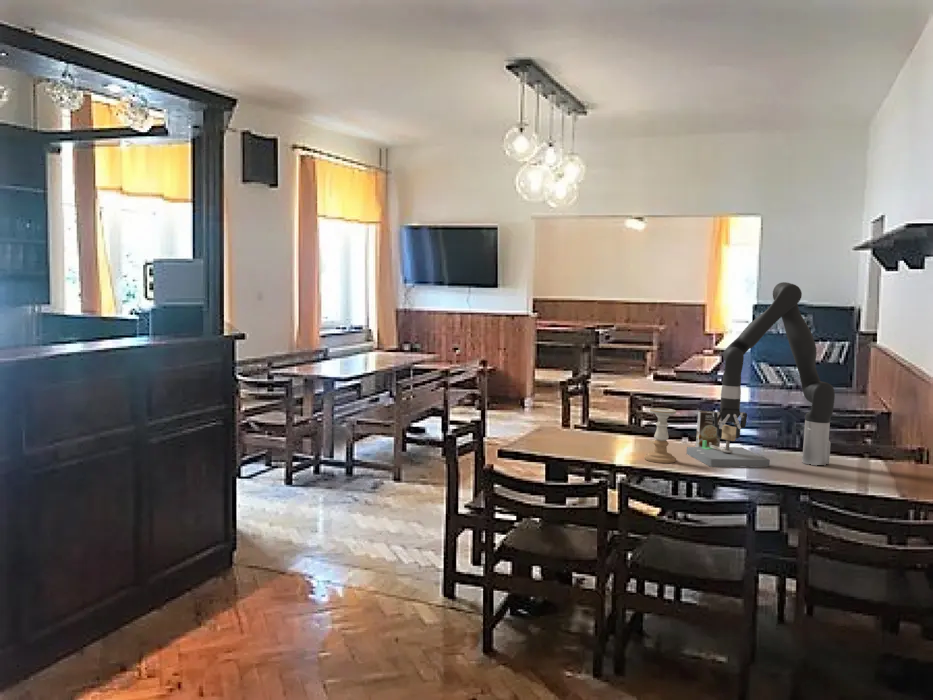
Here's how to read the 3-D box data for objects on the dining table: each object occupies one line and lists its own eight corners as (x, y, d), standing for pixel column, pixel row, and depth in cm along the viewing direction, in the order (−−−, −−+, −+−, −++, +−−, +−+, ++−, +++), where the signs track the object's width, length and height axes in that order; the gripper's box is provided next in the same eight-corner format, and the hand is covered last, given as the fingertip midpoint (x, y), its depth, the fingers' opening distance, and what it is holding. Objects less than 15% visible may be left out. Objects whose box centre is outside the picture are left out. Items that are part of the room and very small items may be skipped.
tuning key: (736, 453, 345) (738, 427, 344) (728, 453, 343) (730, 427, 342) (713, 447, 356) (714, 421, 355) (705, 447, 355) (707, 422, 354)
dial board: (741, 454, 360) (742, 440, 360) (769, 467, 337) (770, 452, 336) (686, 454, 357) (687, 439, 356) (711, 466, 333) (711, 451, 333)
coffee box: (697, 449, 367) (700, 412, 366) (695, 447, 374) (697, 410, 372) (719, 451, 366) (722, 413, 365) (717, 448, 373) (719, 411, 371)
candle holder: (652, 463, 335) (655, 412, 334) (639, 457, 347) (641, 407, 346) (681, 463, 338) (684, 412, 337) (667, 456, 350) (670, 407, 349)
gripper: (717, 397, 340) (714, 439, 342) (752, 398, 342) (749, 440, 343) (709, 395, 348) (707, 436, 349) (743, 395, 349) (741, 436, 351)
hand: (728, 437), depth 346 cm, fingers open, 6 cm apart
